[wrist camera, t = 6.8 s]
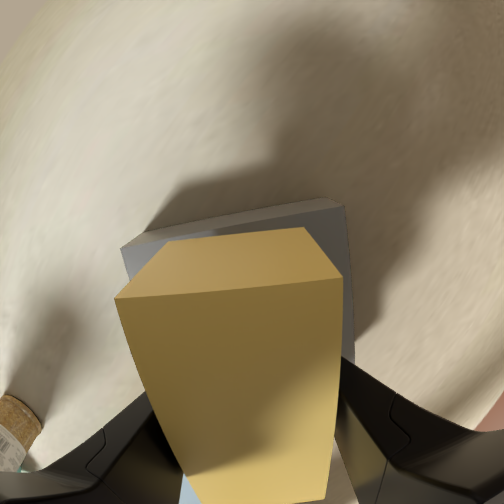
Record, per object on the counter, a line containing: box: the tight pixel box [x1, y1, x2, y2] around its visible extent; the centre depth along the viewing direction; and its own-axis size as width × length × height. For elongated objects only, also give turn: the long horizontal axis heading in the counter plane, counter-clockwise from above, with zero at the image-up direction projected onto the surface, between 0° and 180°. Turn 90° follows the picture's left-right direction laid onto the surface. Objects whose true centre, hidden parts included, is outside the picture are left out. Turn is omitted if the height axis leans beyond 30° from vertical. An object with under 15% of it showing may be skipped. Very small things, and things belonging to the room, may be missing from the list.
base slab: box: [120, 197, 355, 365], centre depth 13 cm, size 8×8×3 cm
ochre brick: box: [114, 227, 343, 504], centre depth 8 cm, size 8×4×4 cm, turn 6°
